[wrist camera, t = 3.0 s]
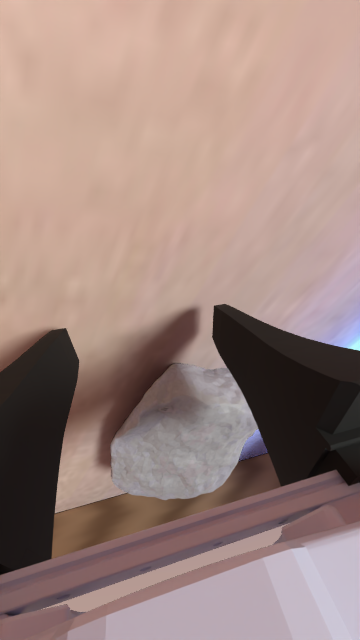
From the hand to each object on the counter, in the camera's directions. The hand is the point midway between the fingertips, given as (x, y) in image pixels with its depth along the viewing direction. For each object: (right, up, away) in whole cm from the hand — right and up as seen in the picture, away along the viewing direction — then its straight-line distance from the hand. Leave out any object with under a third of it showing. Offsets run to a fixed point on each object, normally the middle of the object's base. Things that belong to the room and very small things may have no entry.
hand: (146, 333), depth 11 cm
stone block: (+1, -7, +7) cm, 10 cm away
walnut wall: (+1, -18, +13) cm, 22 cm away
